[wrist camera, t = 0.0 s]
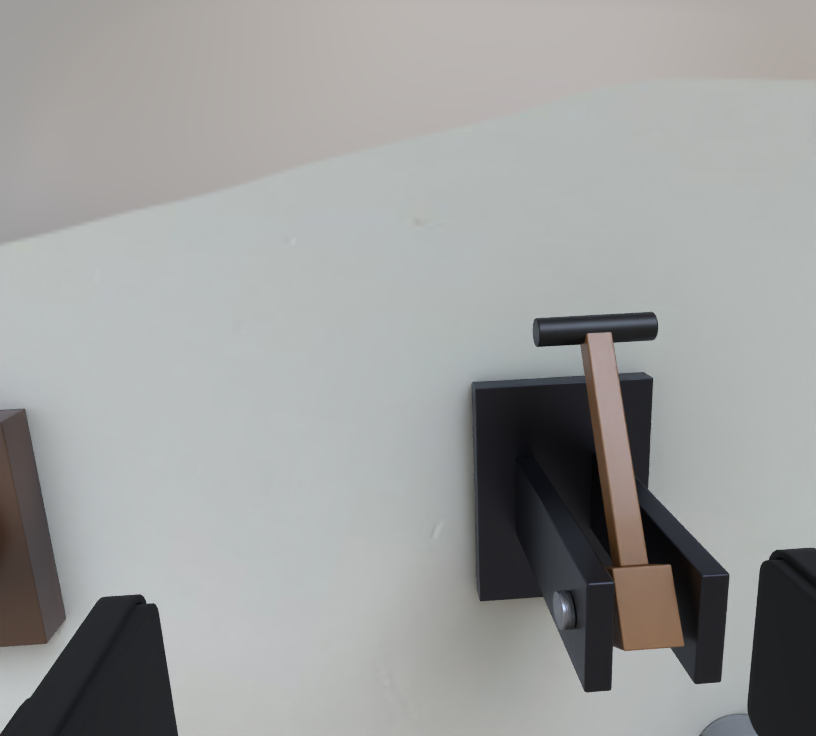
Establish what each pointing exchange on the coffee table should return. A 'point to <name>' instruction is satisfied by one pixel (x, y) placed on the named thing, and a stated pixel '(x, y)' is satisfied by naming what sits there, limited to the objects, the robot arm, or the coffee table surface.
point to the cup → (731, 726)
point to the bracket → (579, 522)
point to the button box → (24, 543)
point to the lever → (620, 479)
